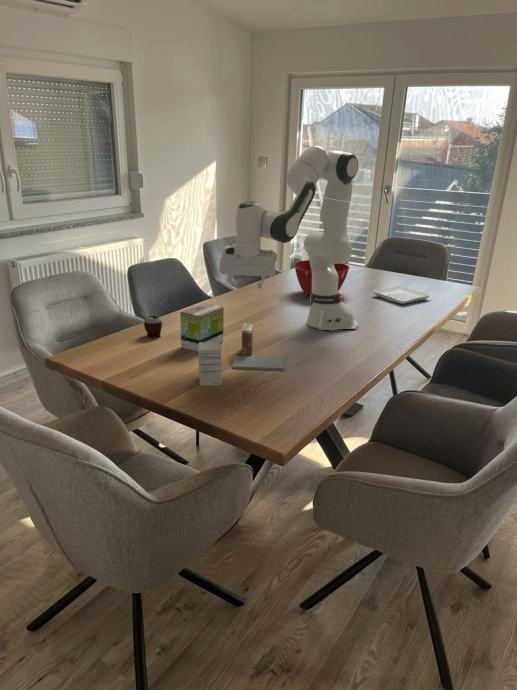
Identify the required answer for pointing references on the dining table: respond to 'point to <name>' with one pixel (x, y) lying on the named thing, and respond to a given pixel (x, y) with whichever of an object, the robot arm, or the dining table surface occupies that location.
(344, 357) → the dining table surface
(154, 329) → the mate gourd
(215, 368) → the supplement box
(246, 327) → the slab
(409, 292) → the salad plate
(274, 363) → the mat
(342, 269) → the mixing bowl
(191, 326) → the tea box
